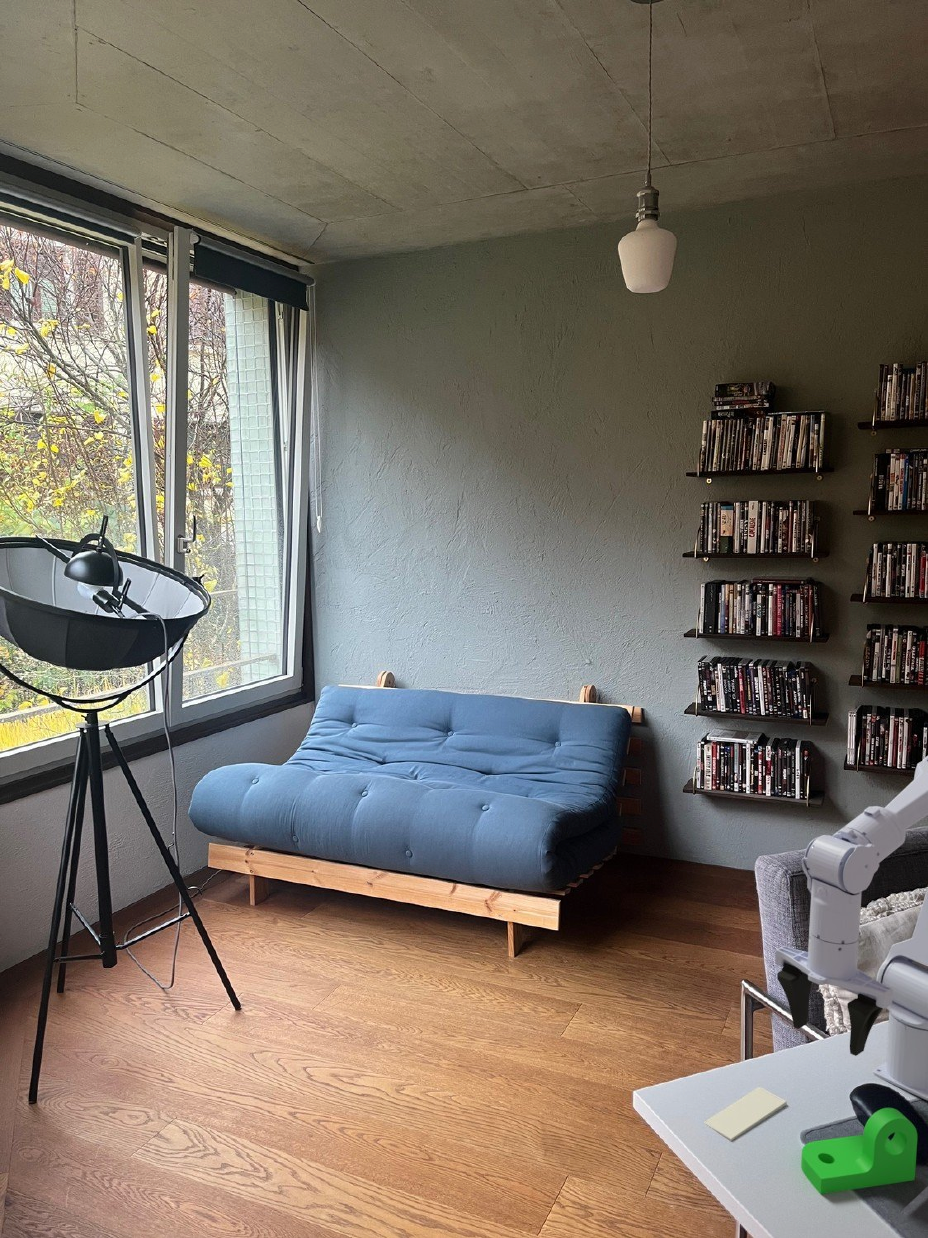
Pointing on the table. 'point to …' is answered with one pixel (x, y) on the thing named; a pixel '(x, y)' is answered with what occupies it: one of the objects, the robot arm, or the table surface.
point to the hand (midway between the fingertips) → (827, 1038)
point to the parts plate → (745, 1113)
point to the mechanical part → (864, 1155)
